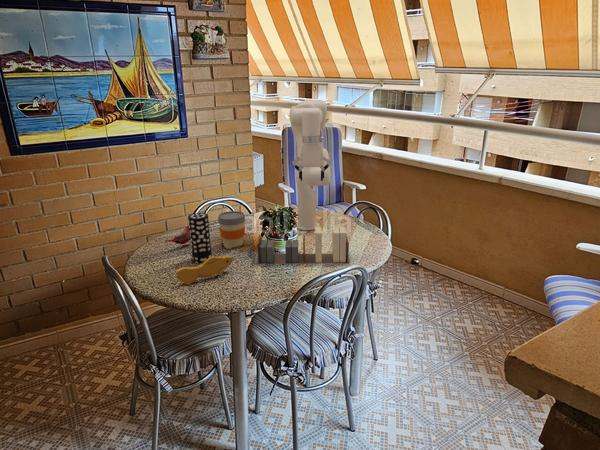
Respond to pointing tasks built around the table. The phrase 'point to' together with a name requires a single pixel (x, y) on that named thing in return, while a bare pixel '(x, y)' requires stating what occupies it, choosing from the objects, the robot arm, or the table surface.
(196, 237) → the white-spotted black cylinder
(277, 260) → the book rack
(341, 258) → the cream books
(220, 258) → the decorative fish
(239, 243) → the reusable coffee cup
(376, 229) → the table surface
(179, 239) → the decorative bird figurine
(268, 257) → the grey books
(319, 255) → the cream book
